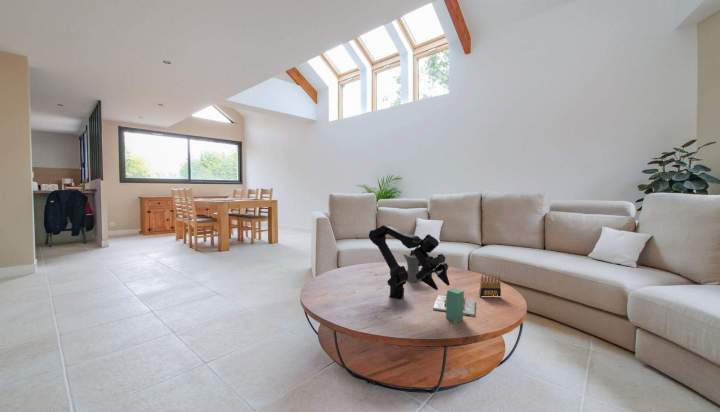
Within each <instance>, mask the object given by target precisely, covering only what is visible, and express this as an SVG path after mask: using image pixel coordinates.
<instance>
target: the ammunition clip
mask: <svg viewBox="0 0 720 412" xmlns="http://www.w3.org/2000/svg"><path fill="white" fill-rule="evenodd" d="M479 283H480V287H479V292H478V293H479V294H478V296H479V295H480V296H493V295H494V296H497V295H498V296H501V297H502V289H501V286H502V285H501V275H500V274H499V275H498V276H497V274H495V275H494V274H492V275H490V274H488V276H487V274H485V275H483V274H481V277H480V282H479Z"/></svg>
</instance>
